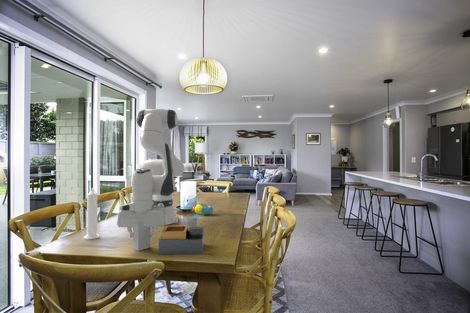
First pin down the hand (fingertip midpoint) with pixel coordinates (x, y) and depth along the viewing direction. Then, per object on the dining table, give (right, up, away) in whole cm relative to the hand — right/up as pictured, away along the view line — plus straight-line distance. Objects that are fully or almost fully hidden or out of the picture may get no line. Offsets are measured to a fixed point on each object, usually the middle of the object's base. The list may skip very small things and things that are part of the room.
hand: (141, 236), depth 113 cm
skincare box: (0, -5, 0) cm, 5 cm away
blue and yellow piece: (+18, -7, +67) cm, 70 cm away
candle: (-30, -5, +15) cm, 34 cm away
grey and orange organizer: (+18, -5, -1) cm, 19 cm away
